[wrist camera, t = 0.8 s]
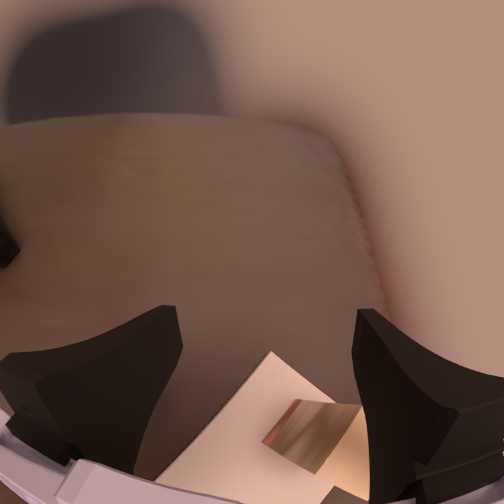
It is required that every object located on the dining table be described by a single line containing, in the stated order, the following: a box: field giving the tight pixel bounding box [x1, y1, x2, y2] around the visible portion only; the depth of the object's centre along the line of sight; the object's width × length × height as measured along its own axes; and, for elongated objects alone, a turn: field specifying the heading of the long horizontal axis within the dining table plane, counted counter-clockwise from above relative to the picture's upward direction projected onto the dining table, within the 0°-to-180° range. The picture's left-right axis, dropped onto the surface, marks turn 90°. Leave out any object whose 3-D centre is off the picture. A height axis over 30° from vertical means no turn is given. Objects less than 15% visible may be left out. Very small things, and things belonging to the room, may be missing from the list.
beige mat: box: [153, 352, 336, 504], centre depth 20 cm, size 18×14×1 cm
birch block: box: [262, 399, 370, 501], centre depth 18 cm, size 5×5×10 cm
